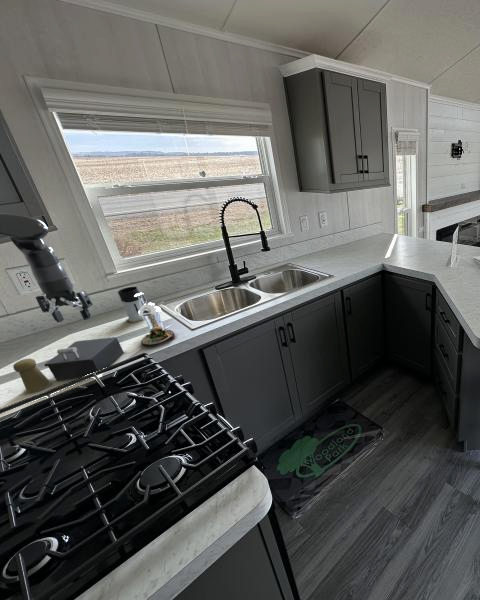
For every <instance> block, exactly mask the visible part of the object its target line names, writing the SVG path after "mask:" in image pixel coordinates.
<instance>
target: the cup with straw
mask: <svg viewBox="0 0 480 600" xmlns="http://www.w3.org/2000/svg"><path fill="white" fill-rule="evenodd" d="M139 295H140V296H141V297H142V299H143V302H144V304H143V305H142V306H141V307H140V311H139V312H138V315H139V316H142V318H143V320H144V322H145V323H146V325H147V327H148V328H149V331H150V330H151V329H152V328H153V327H155V325H156V326H160V327H162V329H163V330H165V329H164V323H163V320H162V316H161V315H162V314H161V311H162V308H161V306H159V305H157V304H156V303H153V302H148V301H146V300H147V298H146V296H145V294H144V292H139V294H137V295H134V296H133V297H136V296H139ZM145 298H146V299H145Z"/></svg>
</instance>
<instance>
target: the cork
mask: <svg viewBox="0 0 480 600" xmlns="http://www.w3.org/2000/svg"><path fill="white" fill-rule="evenodd" d="M13 370H14V371H15V372H16V373H19V376H20V378H21V380H22V383H23V385H24V388H25V391H26V392H27V393H34V392H35V393H36V392H39V391H40V390H44V389H45V388H47V387H49V385H51V381H50V380H49V379H48V378H47V376H46V375H44V373H43V372H42V371H41V370H40V369H39V368H38V366H37V362H36V360H35V359H34V358H24V359H21V360H18V361H16V362H15V363H13Z"/></svg>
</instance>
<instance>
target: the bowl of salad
mask: <svg viewBox="0 0 480 600" xmlns="http://www.w3.org/2000/svg"><path fill="white" fill-rule="evenodd" d="M170 338H172V339H173V340H174V339H175V338H176V336H175V332H174V331H173V330H171V329H164V330H163V329H162V327H160V326H156V325H155V327H153V328H152V329H151V330H150V329H149V334H147V333H146V335H144V337H143V338H142V339H141V341H140V344H141V345H142V346H143V345H148V346H149V345H156V344H160V343H163V342H165V341H167V340H169V339H170Z"/></svg>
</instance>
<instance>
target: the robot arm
mask: <svg viewBox="0 0 480 600" xmlns="http://www.w3.org/2000/svg"><path fill="white" fill-rule="evenodd" d="M48 233H49V227H48V226H47V225H46V223H45V222H43V221H42V220H40V219H38V218H35V217H31V216H26V215H20V214H13V213H6V212H0V236H6V237H8V239H9V240H10V241H11V242H12V243H13V245H14V246H15V247H16V248H17V249H18V251H20V252H21V254H22V255H23V257H24V259H25V261H26V263H27V264H28V266H29V268H30V271H31V274H32V276H33V277H34V279H35V281H36V283H37V285H38V287H39V288H40V291H41V292H42V293H41V294H39V295H37V296H35V300H36V301H37V303H38V305H39V308H40V309H41V312H43V313H49V314H51V316H52V318H53V320H54V321H55V322H56V323H61V322H63V321H64V320H65V317H64V316H63V314H62V312H61V311H60V310H59V309H60V307H64V306H65V307H66V306H67V307H68V306H70V307H72V308H76V309H77V310H78V311H79V313H80V315H81V317H82V318H83V320H84V321H87V320H89V319H91V317H92V315H91V312H90V311H89V308H90V307H92V306H93V305H94V304H93V302H92V301H91V299H90V296H89V295H88V293H87V292H86V290H85V289H84V290H80V291H75V290H74V286H73V283H72V281H71V279H70V277H69V275H68V273H67V272H66V269H65V268H64V266H63V265H62V263H61V262H60V259H59V257H58V256H57V254H56V252H55V251H54V248H53V247H52V246H49V245H47V244H46V243H45V242H44V241H43V240H42V239H44V238H45V237H47V235H48Z"/></svg>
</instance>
